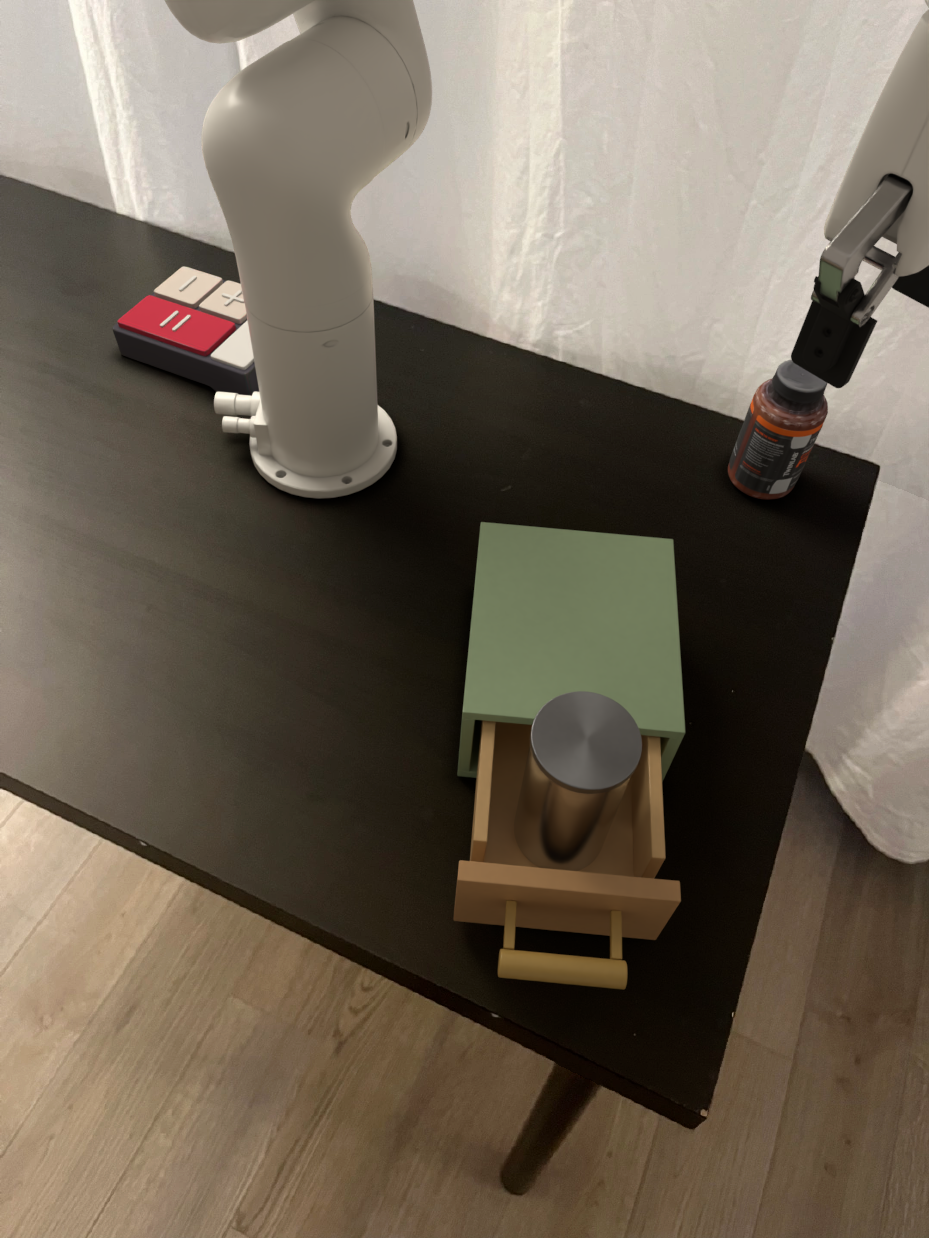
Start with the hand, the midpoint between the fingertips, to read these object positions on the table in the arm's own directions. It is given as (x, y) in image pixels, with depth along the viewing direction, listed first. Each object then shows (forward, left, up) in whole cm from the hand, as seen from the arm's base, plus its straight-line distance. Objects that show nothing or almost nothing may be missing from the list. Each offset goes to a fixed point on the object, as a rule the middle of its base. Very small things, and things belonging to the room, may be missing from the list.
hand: (868, 333), depth 51 cm
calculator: (-46, +28, -28) cm, 60 cm away
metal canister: (-13, -19, -26) cm, 34 cm away
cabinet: (-13, -7, -28) cm, 31 cm away
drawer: (-13, -20, -27) cm, 36 cm away
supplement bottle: (+4, +17, -28) cm, 33 cm away
